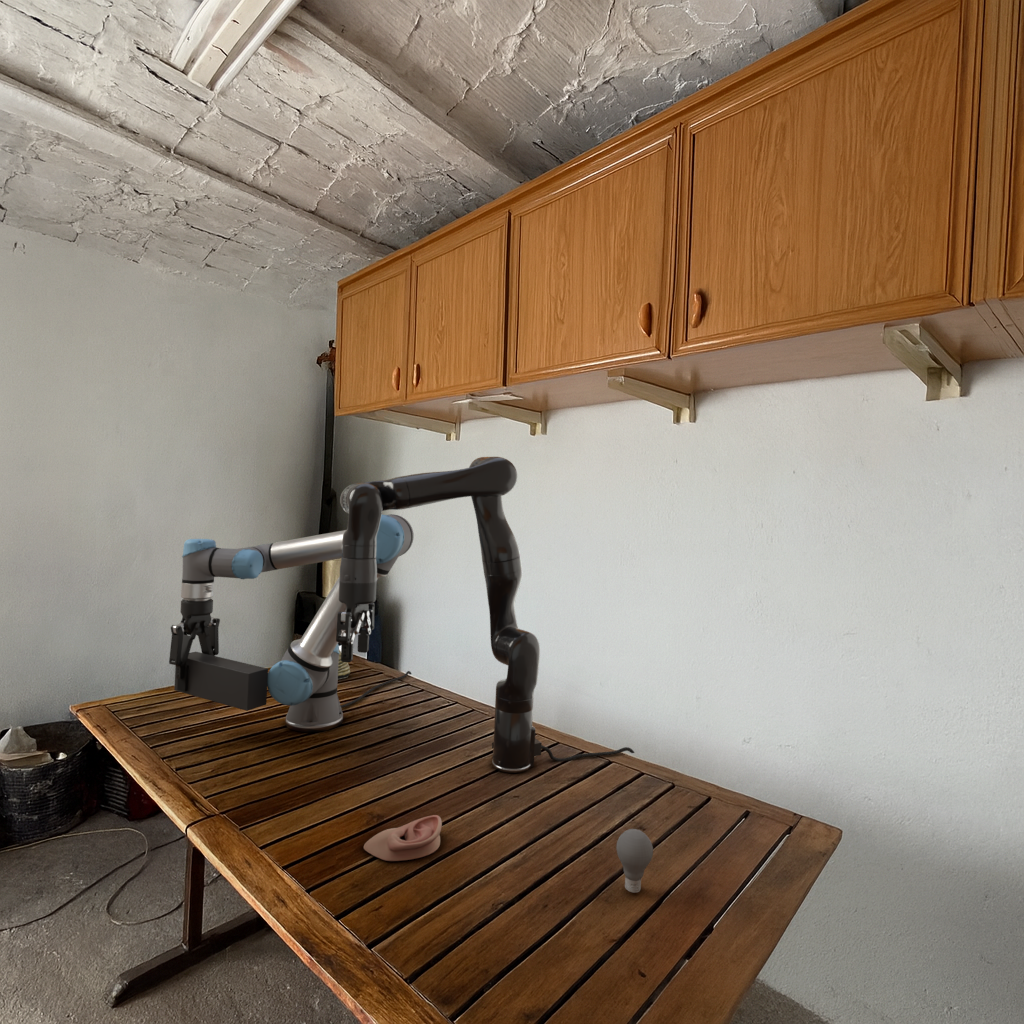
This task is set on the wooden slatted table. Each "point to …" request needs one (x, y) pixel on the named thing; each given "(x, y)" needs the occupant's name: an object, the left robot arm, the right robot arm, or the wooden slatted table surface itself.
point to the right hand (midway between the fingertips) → (355, 656)
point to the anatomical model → (407, 840)
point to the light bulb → (634, 857)
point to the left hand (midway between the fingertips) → (193, 686)
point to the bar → (226, 681)
